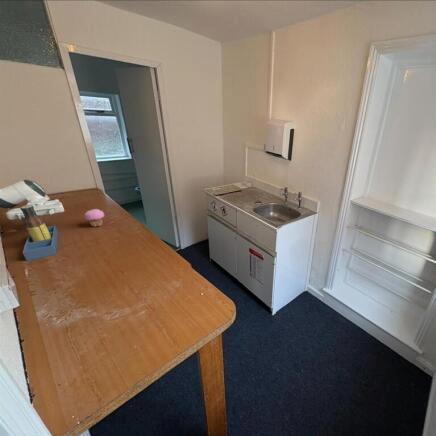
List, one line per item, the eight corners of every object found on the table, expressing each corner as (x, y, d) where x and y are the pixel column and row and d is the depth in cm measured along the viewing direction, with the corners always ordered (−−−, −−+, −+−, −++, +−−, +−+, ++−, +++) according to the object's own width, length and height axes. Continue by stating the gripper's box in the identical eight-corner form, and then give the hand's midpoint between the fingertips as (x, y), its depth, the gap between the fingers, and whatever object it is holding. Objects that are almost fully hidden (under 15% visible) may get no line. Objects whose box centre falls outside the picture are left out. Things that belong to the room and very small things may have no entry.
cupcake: (107, 221, 142) (102, 206, 138) (106, 226, 135) (101, 211, 131) (88, 224, 137) (83, 208, 133) (86, 230, 130) (81, 213, 126)
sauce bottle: (49, 239, 118) (34, 202, 110) (55, 242, 115) (40, 205, 107) (32, 245, 112) (14, 206, 104) (38, 248, 110) (20, 209, 102)
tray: (26, 260, 102) (22, 252, 100) (33, 237, 120) (30, 229, 118) (56, 254, 107) (52, 245, 106) (58, 232, 126) (55, 225, 124)
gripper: (6, 205, 116) (0, 214, 107) (62, 198, 129) (61, 205, 119) (11, 217, 119) (6, 226, 109) (65, 209, 131) (65, 217, 122)
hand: (35, 215), depth 114 cm, fingers open, 8 cm apart
